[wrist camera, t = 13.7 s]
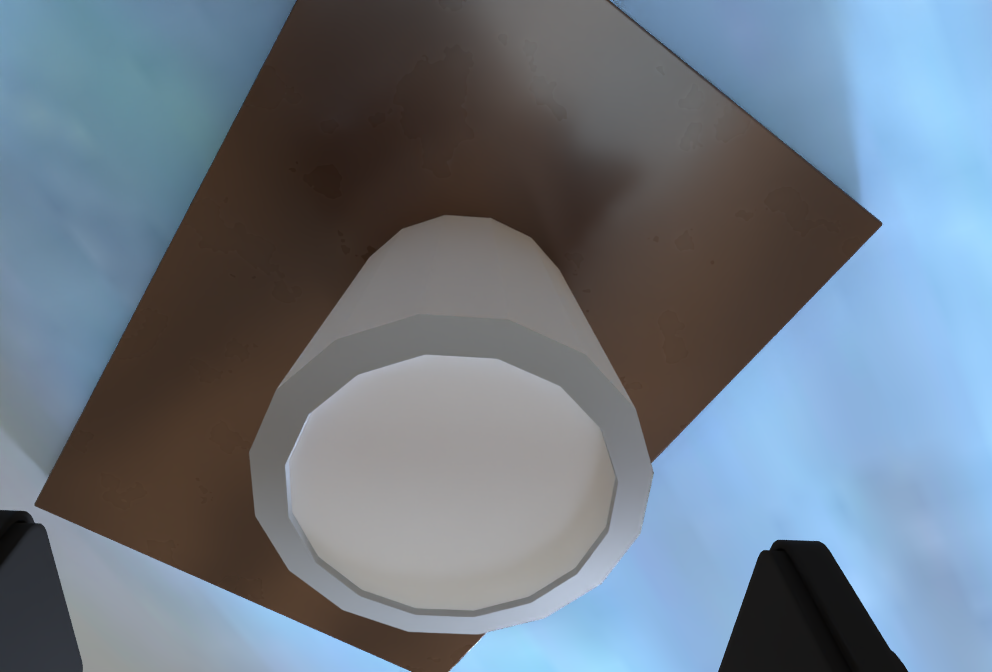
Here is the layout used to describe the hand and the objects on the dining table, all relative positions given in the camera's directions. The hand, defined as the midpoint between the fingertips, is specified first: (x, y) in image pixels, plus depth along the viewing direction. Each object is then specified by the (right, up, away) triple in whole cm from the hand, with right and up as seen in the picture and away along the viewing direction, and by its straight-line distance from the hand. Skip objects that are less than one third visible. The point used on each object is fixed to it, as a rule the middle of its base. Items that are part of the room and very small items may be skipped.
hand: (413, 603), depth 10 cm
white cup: (0, +4, +9) cm, 10 cm away
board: (-1, +3, +10) cm, 11 cm away
